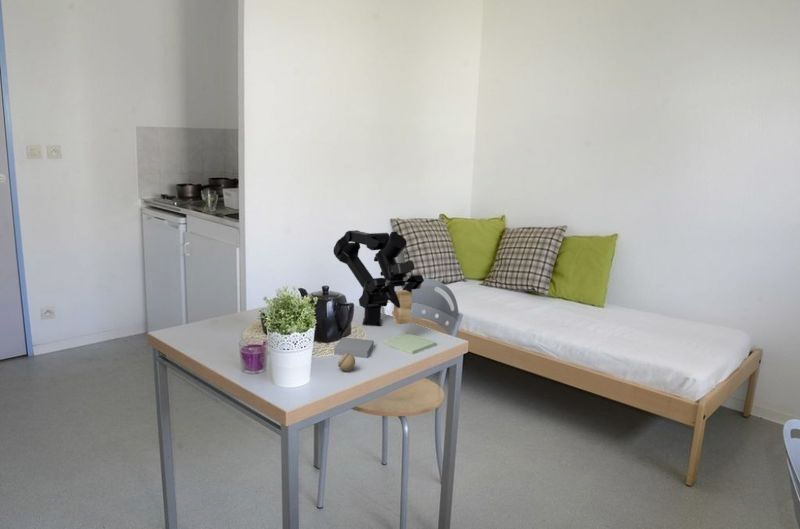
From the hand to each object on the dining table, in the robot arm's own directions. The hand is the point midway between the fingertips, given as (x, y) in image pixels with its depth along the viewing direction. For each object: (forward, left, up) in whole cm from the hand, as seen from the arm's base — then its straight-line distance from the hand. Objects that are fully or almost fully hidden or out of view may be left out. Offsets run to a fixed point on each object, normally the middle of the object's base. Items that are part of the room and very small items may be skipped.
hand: (405, 306), depth 194 cm
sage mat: (+3, +2, -11) cm, 12 cm away
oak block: (-1, -1, -6) cm, 6 cm away
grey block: (+11, -15, -11) cm, 22 cm away
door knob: (+27, -16, -12) cm, 34 cm away
